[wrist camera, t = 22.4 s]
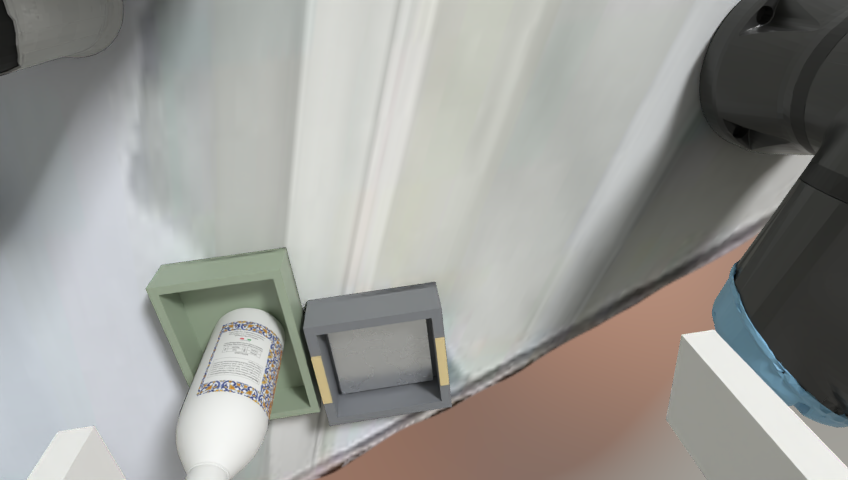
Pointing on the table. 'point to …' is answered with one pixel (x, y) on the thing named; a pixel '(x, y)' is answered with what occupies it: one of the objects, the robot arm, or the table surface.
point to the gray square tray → (372, 313)
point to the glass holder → (55, 30)
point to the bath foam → (230, 395)
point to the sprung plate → (382, 356)
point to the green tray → (229, 290)
